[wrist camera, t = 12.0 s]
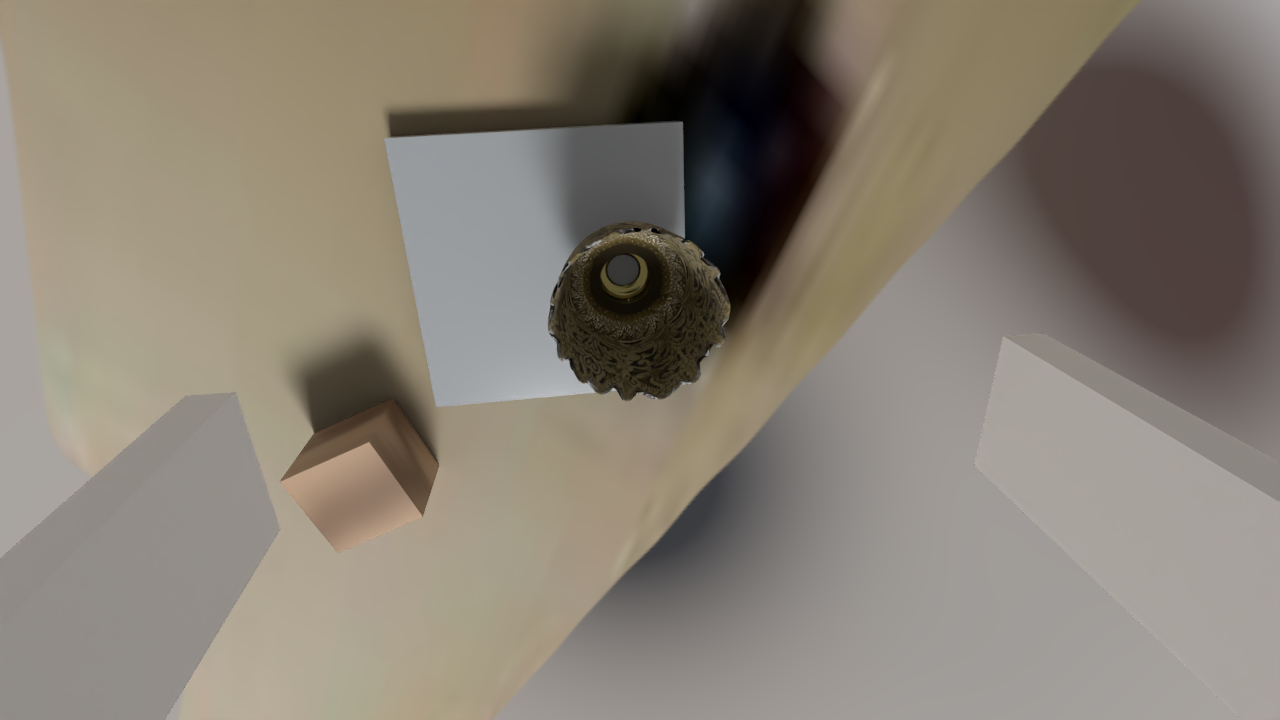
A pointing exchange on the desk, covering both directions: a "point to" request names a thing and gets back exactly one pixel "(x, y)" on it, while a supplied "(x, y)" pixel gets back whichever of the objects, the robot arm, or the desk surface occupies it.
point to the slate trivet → (519, 240)
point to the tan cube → (363, 476)
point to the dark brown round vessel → (637, 312)
